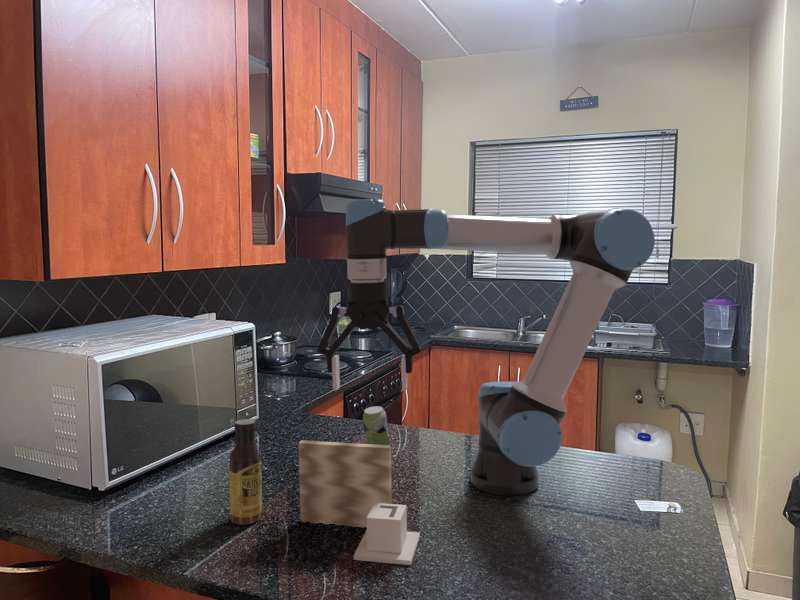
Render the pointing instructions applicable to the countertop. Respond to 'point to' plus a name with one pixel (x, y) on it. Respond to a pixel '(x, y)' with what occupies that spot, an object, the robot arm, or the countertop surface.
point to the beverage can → (376, 426)
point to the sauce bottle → (245, 476)
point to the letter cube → (386, 527)
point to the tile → (389, 557)
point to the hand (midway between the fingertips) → (370, 389)
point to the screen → (342, 481)
